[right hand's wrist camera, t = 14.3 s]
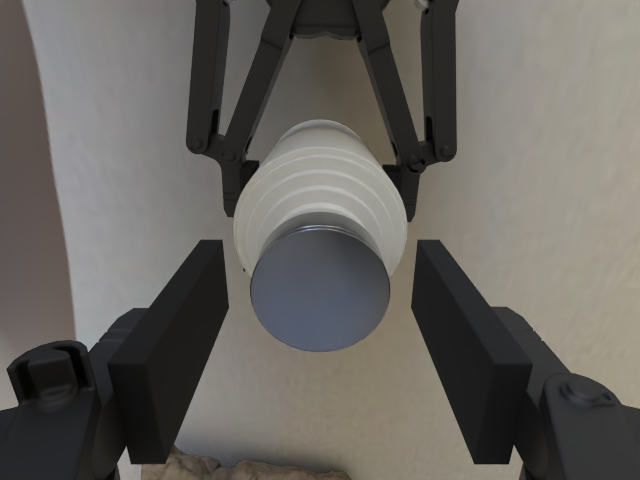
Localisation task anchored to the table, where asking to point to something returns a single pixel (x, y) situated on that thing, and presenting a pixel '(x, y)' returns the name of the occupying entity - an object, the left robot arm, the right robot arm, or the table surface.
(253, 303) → the cap
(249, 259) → the bottle
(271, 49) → the left robot arm
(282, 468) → the stone
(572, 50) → the table surface
